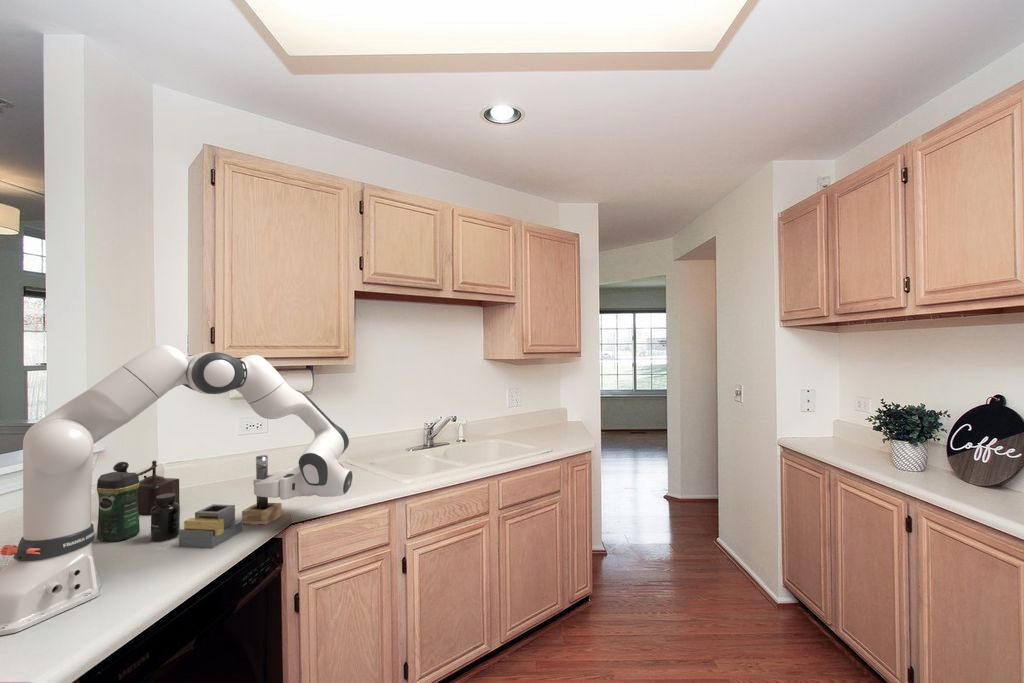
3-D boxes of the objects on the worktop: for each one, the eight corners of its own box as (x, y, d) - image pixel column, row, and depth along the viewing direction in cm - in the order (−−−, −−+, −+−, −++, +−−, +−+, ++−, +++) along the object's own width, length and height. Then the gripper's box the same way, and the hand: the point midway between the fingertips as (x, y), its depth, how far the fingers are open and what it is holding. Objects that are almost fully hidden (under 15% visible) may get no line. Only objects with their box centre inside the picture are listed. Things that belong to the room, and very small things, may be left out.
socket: (212, 548, 132) (212, 518, 132) (178, 546, 134) (178, 517, 134) (242, 531, 144) (241, 504, 144) (211, 529, 146) (210, 503, 146)
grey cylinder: (264, 515, 152) (263, 457, 152) (254, 515, 152) (253, 457, 152) (270, 512, 155) (269, 455, 155) (260, 511, 156) (260, 455, 156)
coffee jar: (145, 532, 144) (145, 469, 144) (119, 543, 136) (118, 476, 136) (118, 530, 146) (118, 468, 146) (90, 541, 138) (90, 475, 138)
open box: (266, 524, 149) (266, 511, 149) (242, 523, 150) (241, 510, 150) (281, 515, 157) (281, 503, 157) (258, 514, 158) (258, 502, 158)
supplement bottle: (146, 543, 136) (146, 500, 136) (157, 534, 143) (156, 493, 143) (174, 540, 138) (174, 498, 138) (183, 531, 144) (183, 491, 144)
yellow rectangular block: (217, 535, 133) (217, 522, 133) (184, 534, 134) (184, 521, 134) (224, 532, 135) (223, 519, 135) (191, 530, 136) (190, 517, 136)
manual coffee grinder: (151, 504, 170) (151, 452, 170) (180, 505, 168) (180, 452, 168) (109, 520, 154) (109, 463, 154) (141, 521, 153) (141, 464, 153)
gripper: (317, 462, 163) (279, 462, 164) (281, 480, 142) (237, 478, 144) (317, 481, 163) (279, 480, 164) (281, 501, 142) (237, 500, 144)
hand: (259, 480), depth 154 cm, fingers closed on grey cylinder, 3 cm apart
